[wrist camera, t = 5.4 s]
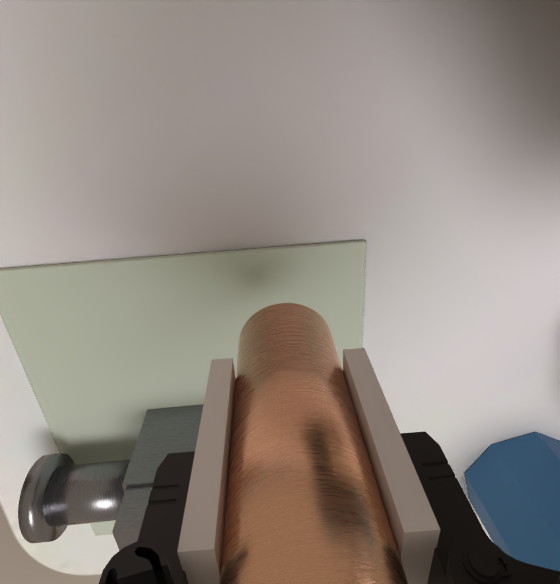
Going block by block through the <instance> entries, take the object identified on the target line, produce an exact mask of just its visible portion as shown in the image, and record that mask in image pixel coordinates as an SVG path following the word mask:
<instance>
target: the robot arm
mask: <svg viewBox="0 0 560 584" xmlns="http://www.w3.org/2000/svg"><path fill="white" fill-rule="evenodd" d="M343 374H344V377H345V380H346V383H347V387H348V390H349V393H350V397H351V400H352V403H353V406H354V410H355V413H356V416H357V419H358V423H359V426H360V429H361V432H362V436H363V439H364V442H365V445H366V449H367V452H368V455H369V458H370V462H371V465H372V468H373V471H374V475H375V478H376V481H377V485H378V488H379V491H380V494H381V498H382V501H383V504H384V507H385V511H386V514H387V517H388V520H389V524H390V527H391V530H392V533H393V537H394V540H395V543H396V546H397V550H398V553H399V556H400V559H401V563H402V566H403V569H404V573H405V576H406V579H407V582H408V584H560V571H556V570H552V569H548V568H544V567H540V566H536V565H532V564H528V563H525V562H522V561H519V560H516V559H515V558H513V557H511V556H509V555H507V554H506V553H504V552H503V551H502V550H501V549H500V548H499V547H498V546H497V545H495V544H494V543H493V542H492V541H491V540H490V539H489V538H488V536H487V535H486V533H485V532H484V530H483V528H482V526H481V525H480V523H479V521H478V519H477V517H476V515H475V513H474V511H473V509H472V507H471V505H470V503H469V501H468V499H467V498H466V496H465V494H464V492H463V490H462V488H461V486H460V484H459V482H458V480H457V478H455V474H454V472H453V471H452V469H451V467H450V465H448V461H447V459H446V457H445V455H444V453H443V451H442V449H441V447H440V445H439V444H438V443H437V442H436V441H434V440H433V439H432V438H431V437H430V436H429V435H428V434H427V433H426V432H414V433H402V434H400V432H399V430H398V427H397V425H396V423H395V420H394V418H393V415H392V413H391V411H390V408H389V406H388V404H387V401H386V399H385V396H384V394H383V392H382V389H381V387H380V384H379V382H378V380H377V377H376V375H375V373H374V370H373V368H372V365H371V363H370V361H369V358H368V356H367V353H366V351H365V349H364V348H356V349H343ZM235 385H236V378H235V370H234V363H233V358H226V359H213V360H211V366H210V371H209V377H208V382H207V388H206V394H205V399H204V405H203V410H202V416H201V422H200V427H199V433H198V438H197V444H196V450H195V451H192V452H180V453H168V454H167V456H166V457H165V459H164V460H163V461H162V463H161V464H160V466H159V467H158V468H157V471H156V474H155V478H154V482H153V485H152V490H151V493H150V496H149V500H148V505H147V507H146V511H145V515H144V518H143V522H142V526H141V529H140V533H139V537H138V540H137V542H134V543H132V544H130V545H128V546H126V547H124V548H122V549H121V550H120V551H119V552H118V553H117V554H115V555H114V556H113V557H112V558H111V560H110V561H109V563H108V564H107V565H106V567H105V568H104V570H103V572H102V576H101V579H100V582H99V584H219V582H220V572H221V559H222V547H223V534H224V522H225V509H226V497H227V484H228V472H229V459H230V447H231V434H232V422H233V409H234V397H235Z"/></svg>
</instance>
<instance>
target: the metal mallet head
mask: <svg viewBox="0 0 560 584" xmlns="http://www.w3.org/2000/svg"><path fill="white" fill-rule="evenodd" d="M203 405H204V404H200V405H189V406H179V407H168V408H157V409H147V412H146V415H145V418H144V421H143V424H142V427H141V430H140V433H139V436H138V439H137V442H136V445H135V448H134V451H133V454H132V457H131V459H128V460H118V461H108V462H97V463H87V464H77V465H75V463H74V461H73V459H72V458H71V457H70V456H69V455H68V454H65V453H61V454H51V455H45V456H43V457H41V458H39V459H38V460H37V461H36V462H35V463H34V465H33V466H32V467H31V469H30V471H29V472H28V474H27V477H26V479H25V481H24V484H23V487H22V490H21V495H20V500H19V508H18V519H19V527H20V530H21V533H22V535H23V537H24V538H25V539H26V540H27V541H28V542H30V543H40V542H49V541H54V540H56V539H57V538H59V537H60V536H61V534H62V533H63V532H64V531H65V529H66V527H67V526H68V525H75V524H85V523H95V522H105V521H114V520H116V521H115V524H114V527H113V530H112V533H113V535H114V538H115V540H116V543H117V545H118V548H119V550H121V549H122V548H124V547H126V546H128V545H130V544H132V543H134V542H137V540H138V537H139V533H140V529H141V526H142V522H143V518H144V515H145V511H146V507H147V505H148V500H149V496H150V493H151V490H152V485H153V482H154V478H155V474H156V471H157V468H158V467H159V466H160V464H161V463H162V461H163V460H164V459H165V457H166V456H167V454H168V453H180V452H192V451H195V450H196V444H197V438H198V433H199V427H200V422H201V416H202V410H203Z"/></svg>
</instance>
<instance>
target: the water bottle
mask: <svg viewBox="0 0 560 584" xmlns="http://www.w3.org/2000/svg"><path fill="white" fill-rule="evenodd" d="M465 478H466V484H467V489H468V495H469V499H470V501H471V503H472V505H473V507H474V508H475V510H476V512H477V514H478V516H479V517H480V519H481V521H482V523H483V525H484V526H485V528H486V530H487V532H488V534H489V536H490V537H491V539H492V541H493V542H494V544H495V545H497V546H498V547H499V548H500V549H501V550H502V551H503V552H504V553H506V554H507V555H509V556H511V557H513V558H515V559H516V560H519V561H522V562H525V563H528V564H532V565H536V566H540V567H544V568H548V569H552V570H556V571H560V441H558V440H556V439H553V438H550V437H548V436H545V435H543V434H540V433H537V432H533V433H530V434H526V435H523V436H519V437H516V438H512V439H509V440H505V441H502V442H498V443H495V444H492V445H491V446H490V447H489V448H488V449H487V450H486V451H485V452H484V453H483V454H482V455H481V456H480V457H479V458H478V459H477V460H476V462H475V463H474V464H473V465H472V466H471V467H470V468H469V469H468V470H467V471H466V472H465Z"/></svg>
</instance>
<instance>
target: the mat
mask: <svg viewBox="0 0 560 584" xmlns="http://www.w3.org/2000/svg"><path fill="white" fill-rule="evenodd" d="M366 244H367V242H366V241H365V240H358V241H345V242H332V243H319V244H307V245H294V246H281V247H269V248H256V249H243V250H230V251H218V252H205V253H192V254H180V255H167V256H154V257H141V258H129V259H116V260H103V261H91V262H78V263H65V264H52V265H40V266H27V267H14V268H1V269H0V315H1V317H2V320H3V322H4V324H5V327H6V329H7V331H8V334H9V336H10V338H11V341H12V343H13V345H14V347H15V350H16V352H17V354H18V357H19V359H20V361H21V364H22V366H23V368H24V371H25V373H26V375H27V378H28V380H29V382H30V385H31V387H32V389H33V392H34V394H35V396H36V399H37V401H38V403H39V406H40V408H41V410H42V413H43V415H44V417H45V419H46V422H47V424H48V426H49V429H50V431H51V433H52V436H53V438H54V440H55V443H56V445H57V447H58V450H59V452H60V454H61V453H65V454H68V455H69V456H70V457H71V458H72V459H73V461H74V463H75V465H77V464H87V463H97V462H108V461H118V460H128V459H131V457H132V454H133V451H134V448H135V445H136V442H137V439H138V436H139V433H140V430H141V427H142V424H143V421H144V418H145V415H146V412H147V409H157V408H168V407H179V406H189V405H200V404H204V399H205V394H206V388H207V382H208V377H209V371H210V366H211V360H213V359H226V358H233V363H234V370H235V378H236V371H237V359H238V346H239V337H240V333H241V330H242V328H243V326H244V325H245V323H246V322H247V320H248V319H249V318H250V317H251V316H252V315H253V314H255V313H256V312H258V311H259V310H261V309H263V308H265V307H267V306H270V305H274V304H279V303H296V304H300V305H304V306H307V307H309V308H311V309H313V310H314V311H316V312H317V313H318V314H320V315H321V316H322V317H323V319H324V320H325V321H326V323H327V324H328V326H329V329H330V331H331V335H332V338H333V341H334V344H335V348H336V351H337V354H338V357H339V361H340V364H341V367H342V370H343V349H356V348H362V340H363V316H364V292H365V268H366ZM115 521H116V520H114V521H105V522H95V523H90V524H91V526H92V529H93V531H94V533H95V536H98V535H108V534H113V533H112V530H113V527H114V524H115Z"/></svg>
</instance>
